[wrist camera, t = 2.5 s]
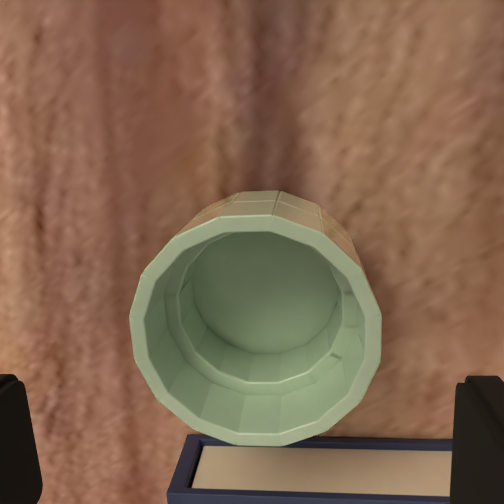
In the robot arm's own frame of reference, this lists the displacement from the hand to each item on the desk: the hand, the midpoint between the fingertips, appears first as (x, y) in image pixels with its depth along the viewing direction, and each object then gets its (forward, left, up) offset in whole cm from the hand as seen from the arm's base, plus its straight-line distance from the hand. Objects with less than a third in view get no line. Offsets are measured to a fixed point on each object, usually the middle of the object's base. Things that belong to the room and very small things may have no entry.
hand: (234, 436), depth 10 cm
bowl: (-1, 0, -8) cm, 8 cm away
